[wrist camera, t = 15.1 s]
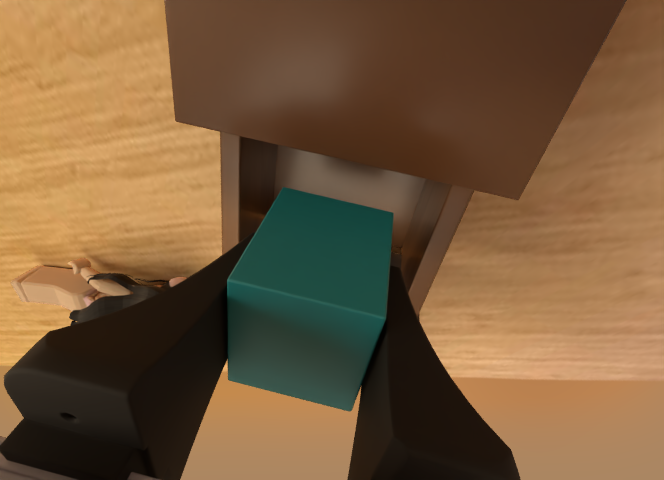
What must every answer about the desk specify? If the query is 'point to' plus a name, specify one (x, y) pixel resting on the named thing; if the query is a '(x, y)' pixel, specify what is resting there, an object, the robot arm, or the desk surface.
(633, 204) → the desk surface
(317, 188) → the drawer
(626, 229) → the desk surface
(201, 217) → the desk surface
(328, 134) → the cabinet
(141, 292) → the toy figure
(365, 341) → the teal rectangular block
